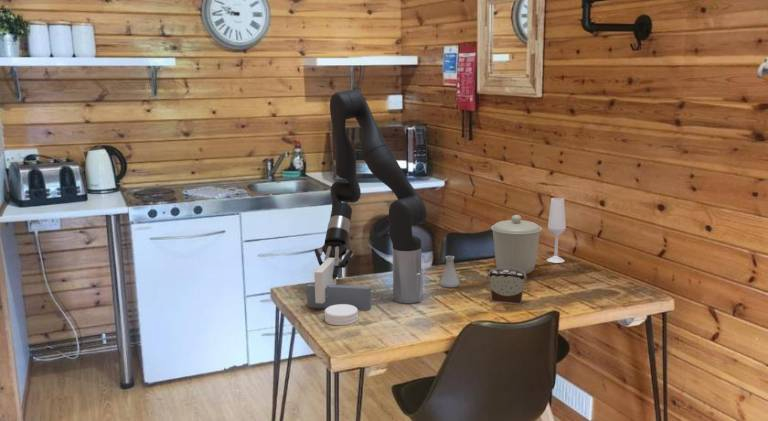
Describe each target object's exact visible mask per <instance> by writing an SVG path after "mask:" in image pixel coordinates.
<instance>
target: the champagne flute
mask: <svg viewBox="0 0 768 421" xmlns="http://www.w3.org/2000/svg"><path fill="white" fill-rule="evenodd" d="M550 199H551V200H550V205H549V207H550V208H549V214H548V222H547V229H548V232H550V233H551V234H552V235H553V236H554V251H553V252H554V253H553V254H554V255H553V256H550V257H549V258H546V261H547V262H549V263H555V264H556V263H557V264H559V263H564V262H565V259H563V257H560V256H559V255H558V252H559V251H558V250H559V248H558V247H559V244H558V243H559V236H560V235H562V234H563V233H564V232H565V231H566V229H567V223H566V221H567V220H566V208H565V206H566V205H565V198H563V197H552V198H550Z"/></svg>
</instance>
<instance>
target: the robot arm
mask: <svg viewBox="0 0 768 421" xmlns="http://www.w3.org/2000/svg"><path fill="white" fill-rule="evenodd" d="M329 113H330V114H329V115H330V119H331V127H332V133H333V139H334V145H335V146H334V147H335V174H336V176H337V177H338V178H341V179H344V180H346V181H335V182H334V183H332V184H331V186H330V197H331V198H330V199H331V211H330V217H329V221H328V223H327V224H328V225H327V228H326V233H325V238H324V242H323V243H324V244H323V245H322V247H321V248H319V249H318V248H315V249H314V250H313V251H314V254H315V257H316V259H317V262H318V264H319V267H320V266H321V265H322V264H323V262H324V261H325V260H326V259H327V258H335V266H334V270H333V279H336V280H337V278H338V277H339V271H340V269H341V268H343V269H345V268H346V267H347V266H348V264H349V263H350V262H351V260H352V259H353V258H354V255H355V254H354V252H353V250H351V249H350V250H349V249H348V241H349V235H350V229H351V228H350V227H351V220H352V214H353V208H352V206H351V205H349V204H347V203H353V204H355V203H357V202H358V201H359V200H360V198H361V187H360V183H359V180H358V175H357V152H356V148H355V147H354V145H353V142H351V139H350V137H349V136H348V133H347V129H346V121H347V120H350V119H354V118H355V120H356V121H357V124H358V125H359V127H360V130H361V143H360V146H361V147H360V152H361V157H362V159H363V161H364V162H365V164H366V166H367V168H368V170H369V171H370V173H371V174H372V175H373V176H374V177H375V178H377V179H378V180H379V181H380V182H382V183H383V184H384V185H385V186H386V187H387V188H389V189H390V190H391V191H392V192H393V194H394V195H395V196H396V198H397V199H396V200H393V201H392V202H391V203H390V205H389V208H388V225H389V226H388V228H389V229H388V230H389V238H390V240H391V244H392V297H393V299H392V300H393V301H395V302H396V303H400V304H414V303H421V301H422V299H423V296H424V294H423V293H424V290H423V286H424V284H423V283H424V282H423V280H424V279H423V277H424V276H423V274H424V273H423V272H424V270H423V268H422V239H421V238H420V237H418V236H415V235H413V227H414V226H418V225H421V224H423V223H424V222H425V221H426V218H427V207H426V205H425V203H424V201H423V199H422V198H421V196H420V195H419V194H418V193H417V191H416V189H415V188H414V186H413V185H412V184H411V183H410V181H409V179H408V178H407V176H406V174H405V173H404V171H403V169H402V168H401V166H400V164H399V163H398V161H397V159H396V157H395V155H394V153H393V152H392V150H391V148H390V145H389V144H388V143H387V141H386V139H385V138H384V136H383V134H382V132H381V130H380V128H379V126H378V125H377V122H376V120H375V118H374V116H373V114H372V110H371V109H370V107H369V103H368V101H367V99H366V97H365V96H364V94H363V93H362V92H361V91H360V90H357V89H349V90H344V91H338V92H335V93H333V94H332V95H331V96H330V100H329ZM323 254H324V255H325V256H324V261H323V259H322V256H323ZM343 256H344V257H343ZM342 257H343V259H342Z"/></svg>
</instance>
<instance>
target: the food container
mask: <svg viewBox="0 0 768 421" xmlns="http://www.w3.org/2000/svg"><path fill="white" fill-rule="evenodd" d="M487 278H489V286H490V296H491V302H492V303H503V304H513V305H514V304H515V305H522V302H523V293H524V285H525V281H527V274H525V272H524V271H522V270H520V269H516V268H497V267H496V268H491V269H489V271H488V273H487Z"/></svg>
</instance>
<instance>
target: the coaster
mask: <svg viewBox="0 0 768 421" xmlns="http://www.w3.org/2000/svg"><path fill="white" fill-rule="evenodd" d="M358 312H359V310H358V309H357V308H356V307H355V306H352V305H348V304H338V305H332V306H329V307H328V308H324V321H325V322H326V323H327V324H329V325H332V326H348V325H352V324H355V323H357V321H358V319H359V313H358Z"/></svg>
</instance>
